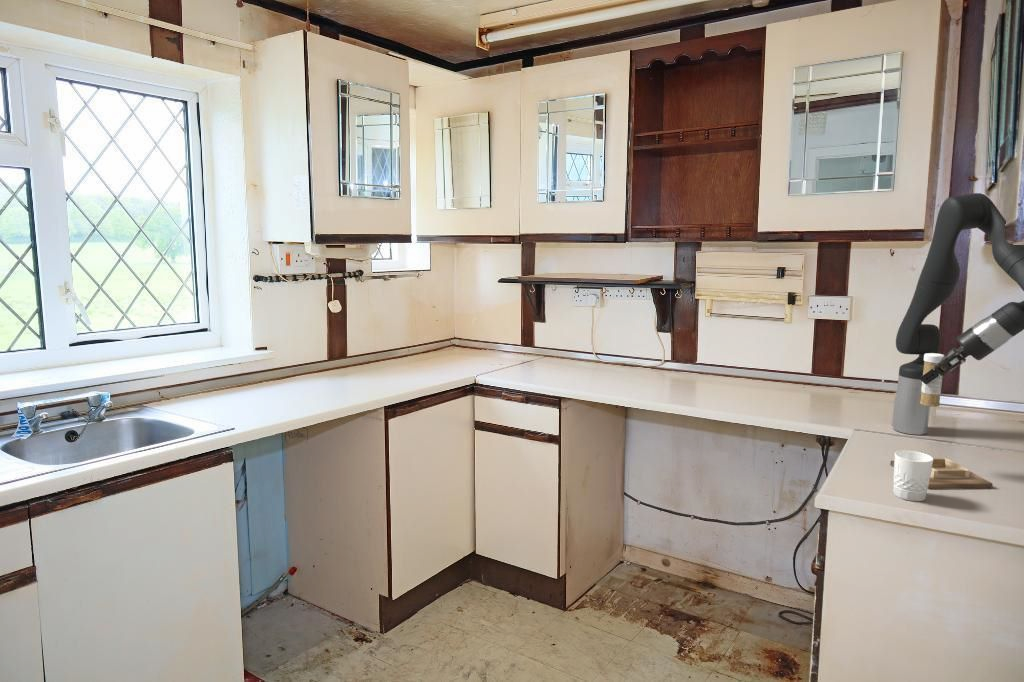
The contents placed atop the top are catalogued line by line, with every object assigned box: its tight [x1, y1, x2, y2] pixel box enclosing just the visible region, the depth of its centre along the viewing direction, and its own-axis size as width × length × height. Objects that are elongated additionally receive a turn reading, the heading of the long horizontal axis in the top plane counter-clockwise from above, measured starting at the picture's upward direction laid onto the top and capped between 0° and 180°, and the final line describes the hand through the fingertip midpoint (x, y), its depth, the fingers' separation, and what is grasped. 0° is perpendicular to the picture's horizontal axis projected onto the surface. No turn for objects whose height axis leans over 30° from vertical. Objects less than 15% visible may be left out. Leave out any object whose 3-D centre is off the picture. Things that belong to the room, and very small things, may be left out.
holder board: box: [889, 457, 993, 490], centre depth 175 cm, size 16×16×3 cm
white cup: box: [892, 449, 934, 502], centre depth 162 cm, size 8×8×10 cm
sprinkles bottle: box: [920, 353, 945, 408], centre depth 177 cm, size 5×5×14 cm
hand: (923, 379), depth 178 cm, fingers closed on sprinkles bottle, 4 cm apart
